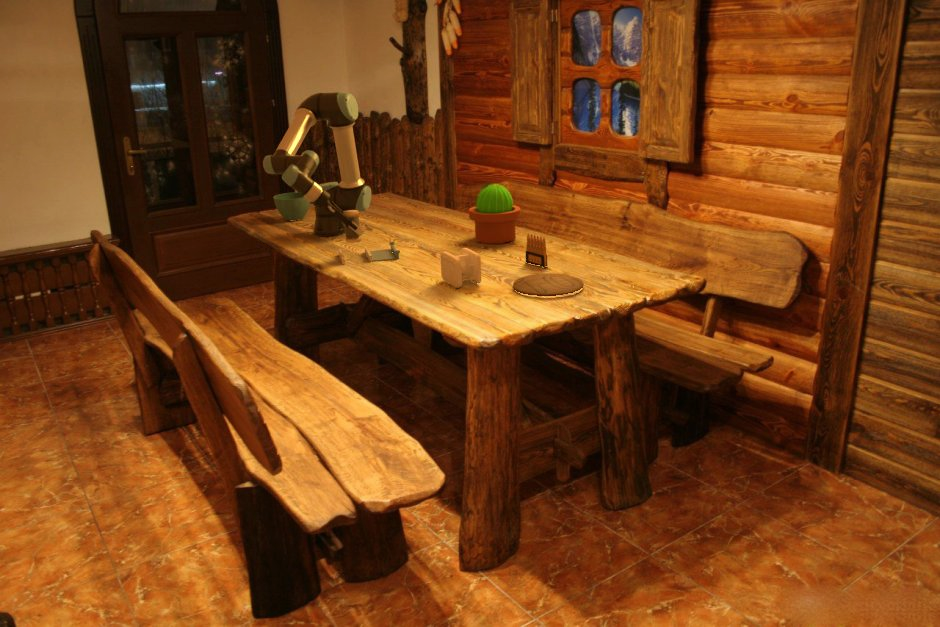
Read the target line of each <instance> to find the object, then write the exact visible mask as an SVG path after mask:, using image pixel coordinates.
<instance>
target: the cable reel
mask: <svg viewBox="0 0 940 627" xmlns="http://www.w3.org/2000/svg"><path fill="white" fill-rule="evenodd" d="M343 214H344V215H345V216H346V217H348V218H349V219H350V220H351V221H353V222H354V223H356V224H357V225H358V226H359V227H360V225H361V224H360V217H359V215H360V212H359V211H357V210H349V211H344V212H343ZM359 224H360V225H359ZM344 234H345V242H346V243H352V244H353V243H360V242H361V241H362V236H360V235H358V234H357V233H356V232H355V231H353V230H352V229H351V228H350V227H348V228H347V227H346V225H345V233H344Z"/></svg>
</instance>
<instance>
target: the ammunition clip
mask: <svg viewBox="0 0 940 627" xmlns="http://www.w3.org/2000/svg"><path fill="white" fill-rule="evenodd" d="M546 242H547V241H546V238H545V237H542V236H540V237H539V235H537V236H536V234H534V235H533V234H530V233H527V236H526V250H525V263H526V262H527V263H531V264H535V265H540V266H543V267H545V266H547V267H548V254H547V244H546ZM527 263H526V264H527Z"/></svg>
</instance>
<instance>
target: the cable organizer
mask: <svg viewBox="0 0 940 627" xmlns="http://www.w3.org/2000/svg"><path fill="white" fill-rule="evenodd" d="M439 256H440V270H441V271H440V272H441V273H440V274H441V278H442V280H443V281H444V282H445V281H446V282H445V283H447V284H448V283H449V284H448V285H451V286H452V287H453V286H454V287H453V288H455V289H459V288H461V287H462V286H463V284H464V281H465V280H468V279H469V280H468V281H469V282H472V283H473V282H474V283H476V284H475V285H478V284H480V283H481V282H482V264H481V263H482V262H481V260H482V259H481V256H480V254H479V253H477V252H476V251H473V250H472V249H470V248H467V247H462V248H460V254H459V255H458V254H457V255H454V254H452V253H451V252H449V251H446V250H445V251H441V252H440V255H439ZM474 283H473V284H474ZM477 283H478V284H477Z"/></svg>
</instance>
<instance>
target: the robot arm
mask: <svg viewBox="0 0 940 627" xmlns="http://www.w3.org/2000/svg"><path fill="white" fill-rule="evenodd" d="M358 117H359V105H358V103H357V100H356V98H355V96H354V95H353V94H351V93H350V92H342V91H339V92H338V91H337V92H335V91H334V92H317V93H313V94H311V95H310V96H308V97H307V98H305V99H304V100H303V101H302V102H301V103H300V104H299V106H297V108H296V110H294V118H293V120H292V122H291V124H290V125H289V127H288V129H287V130H286V132H285V134H284V136H283V137H282V140H281V141H280V143H279V144H278V146H277V148H276V149H275V152H274V153H273V154H269V155H266V156H264V158H263V160H262V166H263V169H264V171H265V173H266V174H270V175H281V180H282V181H283V182H284V183H285V184H287V185H288V186H289V187H290V188H291V189H293V190H294V191H295V192H298V193H299V194H301V195H302V196H303V197H305V198H304V200H306V199H307V200H308V201H310V203H312V206H314V211H315V212H314V214H315V220H314V225H313V230H312V231H313V235H314V236H316V235H317V237H333V236H332V235H337V236H340V235H339V234H341V235H344V234H345V225H346V227H347V228H348V227H350V228H351V229H352V230H353V231H355V232H356V233H357V234H358V235H360V237H362V235H363V234H364V233H365V232H366V230H364V229H363V228H364V227H363V226H362V225H361V224H360V223H359V225H360V227H359V226H358V225H357V224H356V223H354V222H353V221H351V220H350V219H349V218H348V217H346V216H345V215H344V214H343V212H344V211H349V210H357V211H359V213H360V212H362V213H363V212H366V211H367V210H368V209H369V207H370V205H371V201H372V190H371V187H370V186H369V185H366V183H365V180H364V179H363V178H362V177H361V173H360V167H359V160H358V154H357V147H356V141H355V135H354V128H353V126H354V125H355V124H356V120H357V119H358ZM320 121H326V122H327V124H328V128H330V129H332V132H333V138H334V143H335V150H336V156H337V162H338V167H339V173H340V180H341V181H340V182H339V183H338V181H330V182H325V183H320V184H319V183H317V182H316V181H315V180H314V179H312V178H311V177H312V176H313V174H314V173H315V171H316V169H317V168H318V166H319V164H320V158H319V157H320V156H319V155H318V154H317V153H316V152H315V151H313V150H309V149H307V150H304V151H303V152H302V153H301V155H297V152H298V150H299V148H300V147H301V145H302V143H303V142H304V139H305V138H306V135H307V134H308V132H309V130H310V128H311V127H313V126H315V125H316V123H318V122H320ZM343 233H344V234H343Z"/></svg>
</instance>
